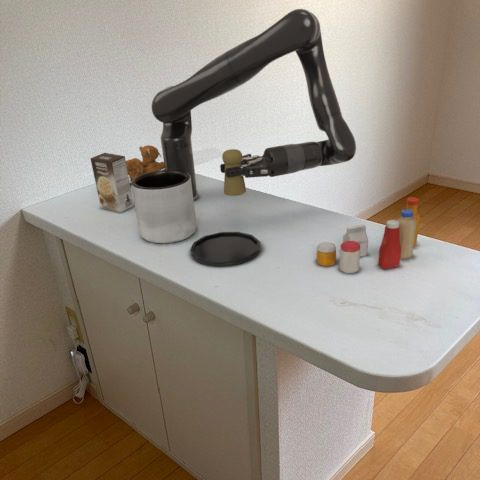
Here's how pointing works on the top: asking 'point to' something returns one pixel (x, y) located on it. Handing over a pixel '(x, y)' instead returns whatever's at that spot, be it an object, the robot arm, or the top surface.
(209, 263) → the metal plate
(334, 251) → the toy food
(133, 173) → the stuffed squirrel
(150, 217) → the planter
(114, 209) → the coffee box
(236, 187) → the cork
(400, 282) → the top surface
